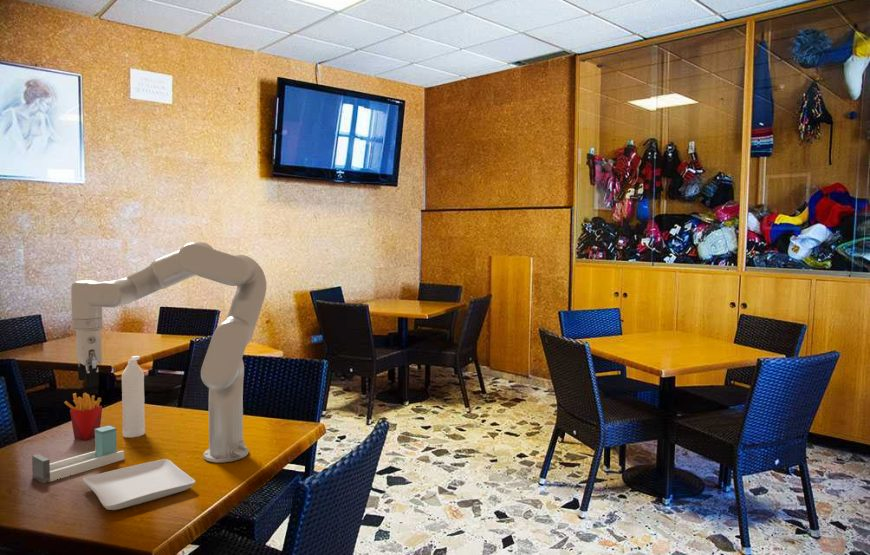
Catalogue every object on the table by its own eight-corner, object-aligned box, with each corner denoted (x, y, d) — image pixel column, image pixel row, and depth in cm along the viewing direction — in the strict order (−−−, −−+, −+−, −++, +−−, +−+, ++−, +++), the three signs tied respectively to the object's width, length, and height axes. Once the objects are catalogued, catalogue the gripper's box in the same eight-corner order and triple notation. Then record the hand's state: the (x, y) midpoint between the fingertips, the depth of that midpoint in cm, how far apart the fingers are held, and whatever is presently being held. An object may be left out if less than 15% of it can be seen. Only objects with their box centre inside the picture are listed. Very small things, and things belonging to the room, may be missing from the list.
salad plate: (197, 493, 149) (197, 480, 149) (105, 520, 135) (105, 505, 134) (167, 468, 165) (166, 456, 164) (81, 490, 150) (81, 477, 150)
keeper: (116, 455, 169) (116, 428, 169) (102, 459, 166) (101, 431, 165) (109, 452, 172) (109, 425, 171) (95, 456, 168) (94, 429, 168)
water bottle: (142, 437, 189) (141, 360, 187) (120, 438, 187) (118, 361, 185) (148, 428, 197) (147, 355, 195) (127, 430, 195) (125, 356, 194)
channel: (124, 459, 170) (123, 439, 170) (43, 483, 153) (43, 461, 152) (112, 454, 174) (112, 434, 173) (32, 477, 156) (32, 455, 156)
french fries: (88, 433, 192) (87, 388, 191) (107, 436, 189) (106, 390, 188) (63, 442, 183) (62, 394, 182) (82, 445, 181) (81, 397, 180)
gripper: (109, 326, 163) (110, 387, 164) (95, 319, 176) (96, 375, 177) (78, 329, 158) (79, 391, 159) (66, 321, 171) (67, 379, 172)
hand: (88, 383), depth 168 cm, fingers open, 9 cm apart
